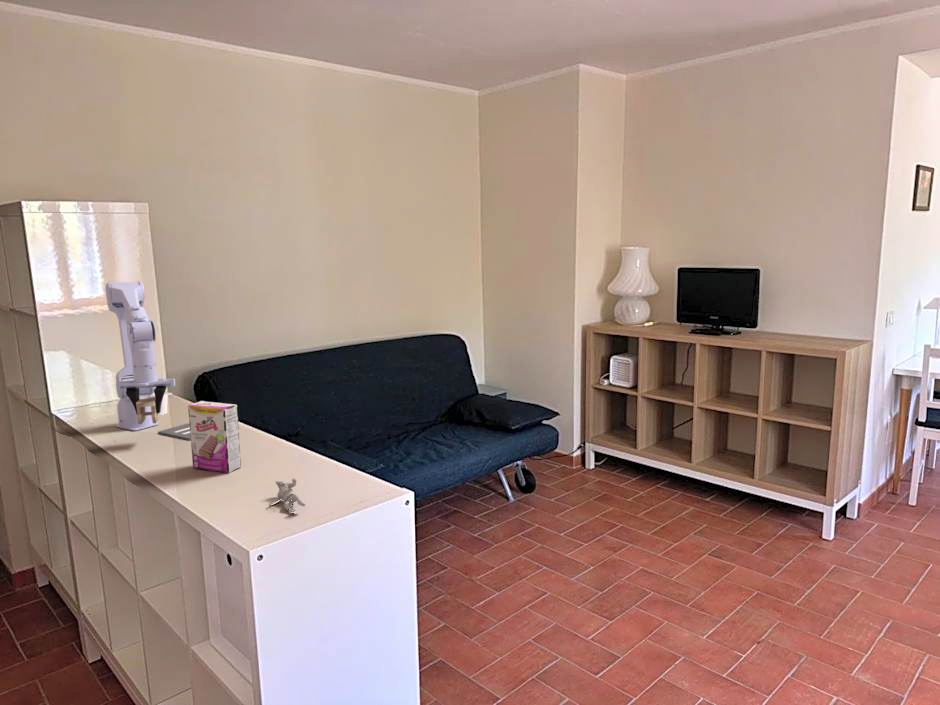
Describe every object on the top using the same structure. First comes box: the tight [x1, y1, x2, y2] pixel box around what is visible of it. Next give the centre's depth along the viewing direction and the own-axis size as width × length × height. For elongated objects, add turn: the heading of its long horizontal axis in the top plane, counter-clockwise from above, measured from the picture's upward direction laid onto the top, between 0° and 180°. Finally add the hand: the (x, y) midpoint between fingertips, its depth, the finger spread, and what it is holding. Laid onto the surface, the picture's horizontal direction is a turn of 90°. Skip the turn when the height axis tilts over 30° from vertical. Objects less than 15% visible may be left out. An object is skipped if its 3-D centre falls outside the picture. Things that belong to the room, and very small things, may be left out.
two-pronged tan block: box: [136, 397, 161, 424], centre depth 179 cm, size 4×6×6 cm
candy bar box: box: [187, 400, 242, 474], centre depth 159 cm, size 11×5×16 cm, turn 71°
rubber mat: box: [157, 423, 191, 441], centre depth 191 cm, size 14×10×1 cm
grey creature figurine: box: [268, 478, 306, 514], centre depth 138 cm, size 8×5×12 cm
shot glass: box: [150, 391, 168, 417], centre depth 212 cm, size 7×7×7 cm
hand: (148, 413), depth 180 cm, fingers closed on two-pronged tan block, 4 cm apart
